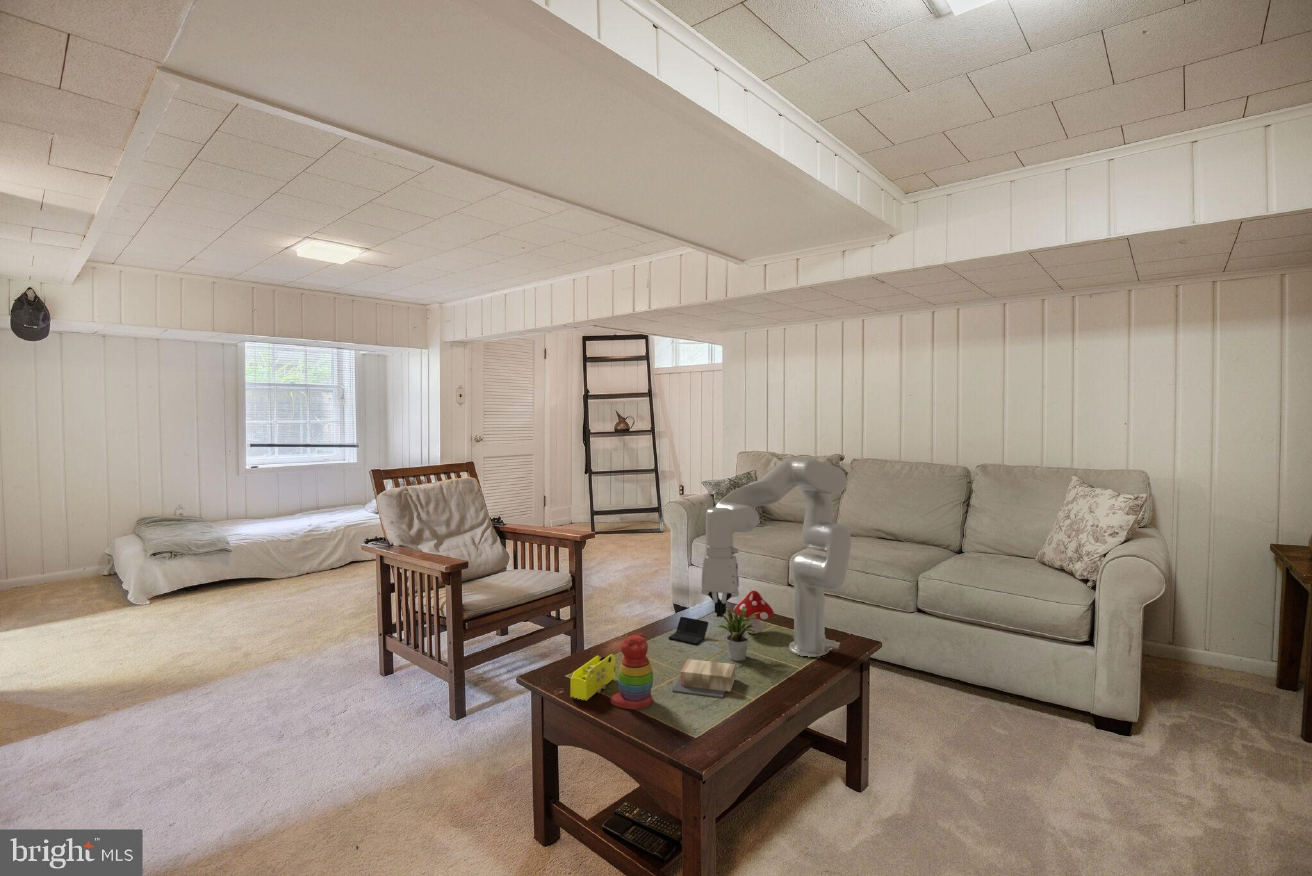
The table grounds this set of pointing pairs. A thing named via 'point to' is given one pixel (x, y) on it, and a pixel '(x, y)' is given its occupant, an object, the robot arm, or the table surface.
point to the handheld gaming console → (690, 631)
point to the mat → (697, 690)
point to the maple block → (708, 675)
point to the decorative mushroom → (754, 610)
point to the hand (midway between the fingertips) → (720, 615)
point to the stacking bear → (634, 675)
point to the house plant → (737, 634)
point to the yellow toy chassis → (592, 677)
